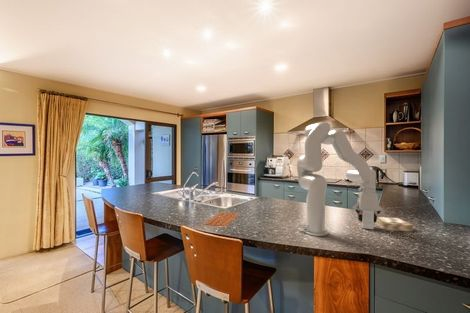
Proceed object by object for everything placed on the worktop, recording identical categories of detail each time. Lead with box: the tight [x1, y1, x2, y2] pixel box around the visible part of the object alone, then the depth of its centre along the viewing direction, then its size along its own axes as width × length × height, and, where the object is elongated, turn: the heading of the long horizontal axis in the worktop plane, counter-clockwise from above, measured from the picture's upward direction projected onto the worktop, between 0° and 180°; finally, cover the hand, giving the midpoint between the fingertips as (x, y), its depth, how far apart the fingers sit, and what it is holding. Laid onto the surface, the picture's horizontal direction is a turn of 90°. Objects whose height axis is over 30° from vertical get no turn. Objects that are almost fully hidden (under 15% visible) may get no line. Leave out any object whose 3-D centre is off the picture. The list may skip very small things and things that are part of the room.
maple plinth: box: [374, 216, 414, 232], centre depth 130 cm, size 14×14×4 cm
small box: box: [360, 210, 375, 230], centre depth 129 cm, size 8×6×10 cm
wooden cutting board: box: [203, 211, 240, 228], centre depth 146 cm, size 14×30×1 cm, turn 164°
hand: (367, 221), depth 129 cm, fingers closed on small box, 6 cm apart
